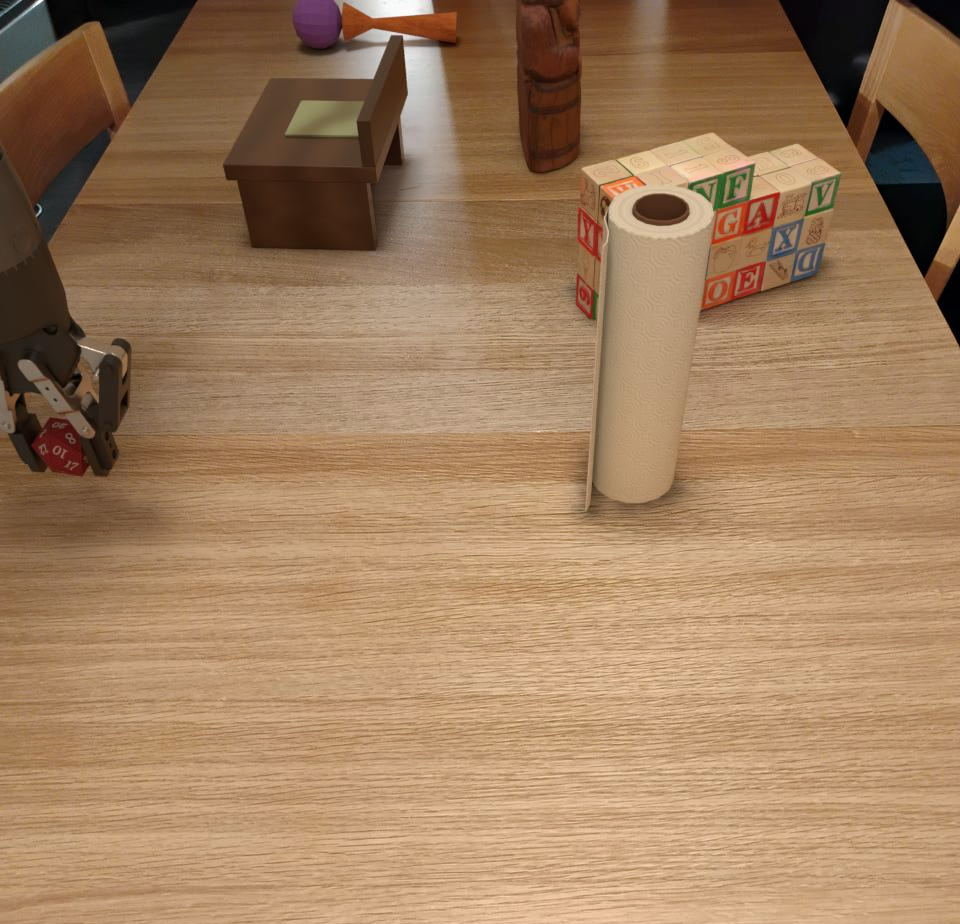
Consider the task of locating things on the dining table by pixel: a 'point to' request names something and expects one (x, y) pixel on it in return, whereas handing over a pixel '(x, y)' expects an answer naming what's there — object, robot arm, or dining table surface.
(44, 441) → the dice
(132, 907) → the dining table surface
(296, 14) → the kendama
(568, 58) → the wooden figurine
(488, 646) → the dining table surface
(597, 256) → the stack of blocks
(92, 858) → the dining table surface
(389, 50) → the miniature wooden chair
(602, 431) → the paper towel roll
